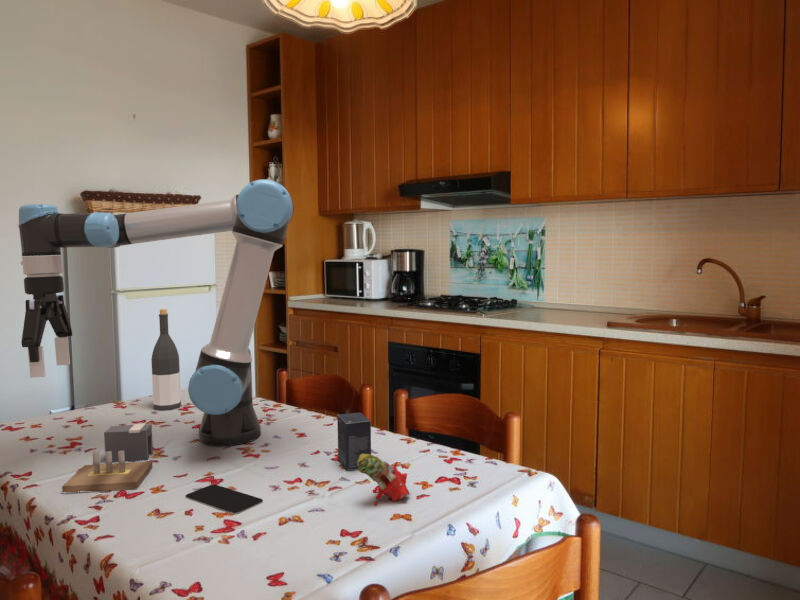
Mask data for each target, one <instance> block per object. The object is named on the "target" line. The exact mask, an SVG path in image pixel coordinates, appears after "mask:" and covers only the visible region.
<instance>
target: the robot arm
mask: <svg viewBox="0 0 800 600" xmlns="http://www.w3.org/2000/svg"><path fill="white" fill-rule="evenodd" d="M294 205H295V204H294V201H293V199H292V197H291V195H290V193H289V192H288V190H287V189H286V188H285V186H284V185H282V184H281V183H279V182H277V181H274V180H271V179H265V178H264V179H263V178H262V179H257V180H254V181H253V180H252V181H250V182H249V183H247V184H246V185H245V186H244V187H243V188H242V189H241V190H240V192H239V193H238V194H234V195H233V197H232V198H231V199H228V200H227V199H225V200H219V201H211V202H204V203H196V204H188V205H180V206H174V207H166V208H158V209H150V210H142V211H135V212H127V213H119V214H113V213H111V212H99V211H95V212H94V211H93V212H80V213H59V211H58V207H57V206H56V205H54V204H45V203H44V204H43V203H42V204H37V203H36V204H23V205H21V206H20V207H19V209H18V225H17V226H18V230H19V238H20V240H19V241H20V247H21V248H20V249H21V261H20V265H21V266H22V271H23V272H22V274H23V275H25V276H26V277H24V279H23V285H24V294H26V295H32V296H33V297H32V299H26V300H25V302H24V303H25V312H24V315H25V316H24V321H23V326H22V327H23V329H22V335H21V347H22V348H27V357H28V366H29V377H30V378H43V377H44V378H45V377H46V368H45V367H46V366H45V354H44V345H41V344H42V340H43V337H44V332H45V328H46V325H47V322H48V321H49V325H50V326H51V328H52V330H53V332H54V335H55V336H56V337H54V347H55V348H54V349H55V362H56V366H68V365H71V359H70V358H71V357H70V342H69V337H72V336H73V329H72V326H71V323H70V319H69V316H68V313H67V308H66V304H65V299H64V298H65V297H64V295H63V294H60V293H63V292H64V291H65V286H64V285H65V284H64V277H63V276H62V275H61V274H62V273H64V272H63V271H64V270H63V260H62V258H63V257H62V252H61V250H62V248H63V249H66V248H106V249H110V248H111V249H115V248H120V247H121V246H129V245H134V244H136V245H137V244H143V243H149V242H151V243H152V242H156V241H165V240H171V239H172V240H173V239H174V240H175V239H180V238H186V237H187V238H188V237H189V238H190V237H194V236H195V237H197V236H202V235H210V234H211V235H212V234H217V233H219V234H220V233H226V232H231V233H232V235H233V237H234V239H235V241H236V242H235V247H234V251H233V255H232V259H231V263H230V266H229V269H228V273H227V276H226V277H227V278H226V281H225V286H224V289H223V293H222V297H221V301H220V303H219V308H218V311H217V315H216V319H215V323H214V327H213V330H212V334H211V337H210V342H209V343H207V344H205V345H204V346H202V347H201V350H200V353H199V356H198V361H197V363H196V367H195V371H194V373H192V375H191V376H190V379H189V380H188V387H187V389H188V390H187V391H188V396H189V399H190V402H191V403H192V404H193V405H194V407H195V408H196V409H197V410H199V411H200V412H203V416H202V418H201V419H202V420H201V422H200V426H199V429H198V441H199V442H200V443H202V444H204V445H208V446H217V447H218V446H220V447H221V446H224V447H225V446H235V445H241V444H245V443H249V442H252V441H254V440H257V439H258V438H259V437H260V436H261V435H262V433H261V432H262V431H261V425H260V421H259V418H258V416H257V414H256V410H255V408H254V404H253V403H254V401H253V378H252V362H253V358H252V353H251V350H250V343H251V339H252V335H253V332H254V330H255V329H254V328H255V324H256V321H257V317H258V313H259V310H260V307H261V302H262V298H263V295H264V291H265V288H266V284H267V279H268V277H269V272H270V268H271V264H272V260H273V257H274V254H275V251H277V250H278V249H280V248H282V247H283V245H284V242H285V238H286V235H287V230H288V228H289V225H290V223H291V221H292V220H293V217H294V214H295V207H294ZM58 294H59V295H58Z"/></svg>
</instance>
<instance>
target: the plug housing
mask: <svg viewBox="0 0 800 600" xmlns="http://www.w3.org/2000/svg"><path fill="white" fill-rule="evenodd" d="M103 436H104V437H103V438H104V439H103V440H104V453H105V452H107V451H112V463H119V462H118V451H122V450H123V451H124V455H125V461H127V462H143V461H142V460H144V461H148V460H149V459H150V458H149V457H150V456H151V455H153V454H154V447H153V446H154V445H153V443H154V442H153V424H149V423H148V424H147V423H135V424H130V425H129V424H128V425H127V424H125V425H110V427H108V429H106V430H105V431H104V432H103ZM104 457H105V456H104ZM140 460H141V461H140ZM105 461H106V457H105Z"/></svg>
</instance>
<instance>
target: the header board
mask: <svg viewBox="0 0 800 600" xmlns="http://www.w3.org/2000/svg"><path fill="white" fill-rule="evenodd" d="M104 457H106V460H105V463H100V451H93V452H92V464H84V465H83V466H82V467H81V468H80V469H79V470H78V471H76V473H75V474H73V475H72V476H71V477H70V478H69V480H67V481H66V482H65V483H64V484H63V485H61V489H62V490H61V491H62V492H78V491H79V492H80V491H98V492H107V491H106V490H114V491H127V489H130V490H138V488H139V487H140V486H141V484H142V483H143V482H144V480H145V479H146V478H147V476H148V475H149V474H150V472H151V471H152V470H153V461H150V460H149V461H130V462H125V455H124V451H123V450H122V451H118V462H112V451H107V452H105V451H104ZM62 492H61V493H62Z"/></svg>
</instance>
